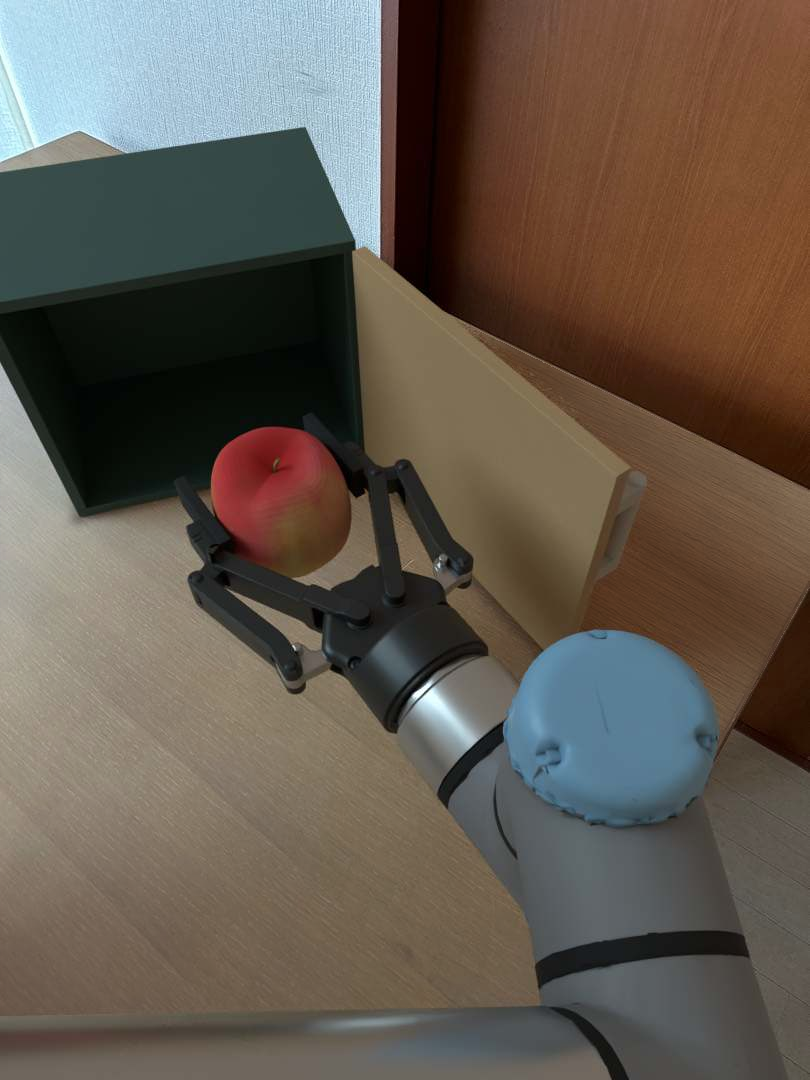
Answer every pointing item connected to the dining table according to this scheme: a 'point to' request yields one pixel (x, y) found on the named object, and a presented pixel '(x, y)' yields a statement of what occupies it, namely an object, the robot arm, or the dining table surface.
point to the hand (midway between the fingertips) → (247, 458)
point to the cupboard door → (490, 456)
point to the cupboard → (176, 309)
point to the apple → (281, 500)
